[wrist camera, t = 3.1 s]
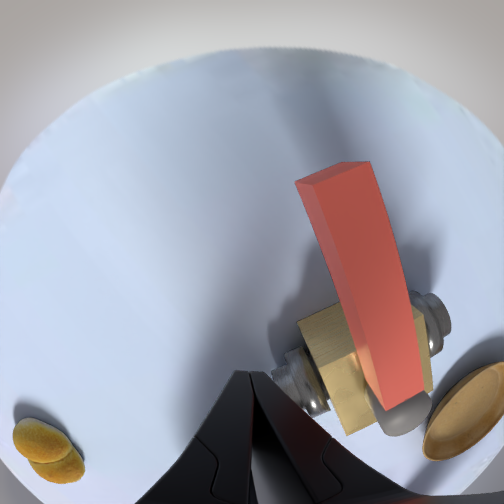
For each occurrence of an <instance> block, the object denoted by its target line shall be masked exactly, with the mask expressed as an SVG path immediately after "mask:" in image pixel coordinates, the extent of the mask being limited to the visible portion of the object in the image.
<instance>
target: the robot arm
mask: <svg viewBox="0 0 504 504" xmlns="http://www.w3.org/2000/svg"><path fill="white" fill-rule="evenodd" d="M135 504H504V491H500V492H493V493H484V494H471V495H448V496H428V495H420V494H417V493H414V492H411V491H409V490H407V489H405V488H403V487H401V486H400V485H398V484H397V483H395V482H393V481H392V480H390V479H389V478H387V477H385V476H384V475H382V474H381V473H379V472H378V471H376V470H375V469H373V468H372V467H370V466H369V465H367V464H366V463H364V462H363V461H361V460H360V459H359V458H357V457H356V456H355V455H353V454H352V453H351V452H350V451H348V450H347V449H346V448H345V447H344V446H342V445H341V444H340V443H339V442H338V441H337V440H336V439H334V438H332V436H331V435H330V434H329V433H328V432H326V431H325V430H324V429H323V428H322V427H321V426H320V425H319V424H318V423H317V422H316V421H314V420H313V419H312V418H311V417H310V416H309V415H308V414H307V413H306V412H305V411H304V410H303V409H302V408H301V407H299V406H298V405H297V404H296V403H295V402H294V401H293V400H292V399H291V398H290V397H289V396H288V395H287V394H286V393H285V392H284V391H283V390H282V389H281V388H280V387H279V386H278V385H277V384H276V383H275V382H274V381H273V380H272V379H271V378H270V377H269V376H268V375H267V374H266V373H264V372H258V371H251V372H250V373H249V372H248V371H239V370H235V371H234V372H233V373H232V375H231V377H230V378H229V380H228V382H227V383H226V385H225V387H224V388H223V390H222V392H221V393H220V395H219V396H218V398H217V400H216V401H215V403H214V405H213V406H212V408H211V409H210V411H209V413H208V414H207V416H206V417H205V419H204V421H203V422H202V424H201V425H200V427H199V429H198V430H197V432H196V433H195V435H194V437H193V438H192V439H191V441H190V442H189V444H188V446H187V447H186V448H185V450H184V451H183V453H182V454H181V455H180V457H179V458H178V459H177V461H176V462H175V463H174V464H173V465H172V466H171V467H170V469H169V470H168V471H167V472H166V473H165V474H164V475H163V476H162V477H161V478H160V479H159V480H158V481H157V482H156V483H155V484H154V485H153V486H152V487H151V488H150V489H149V490H148V491H147V492H146V493H145V494H144V495H143V496H142V497H141V498H140V499H139V500H138V501H137V502H136V503H135Z"/></svg>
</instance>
